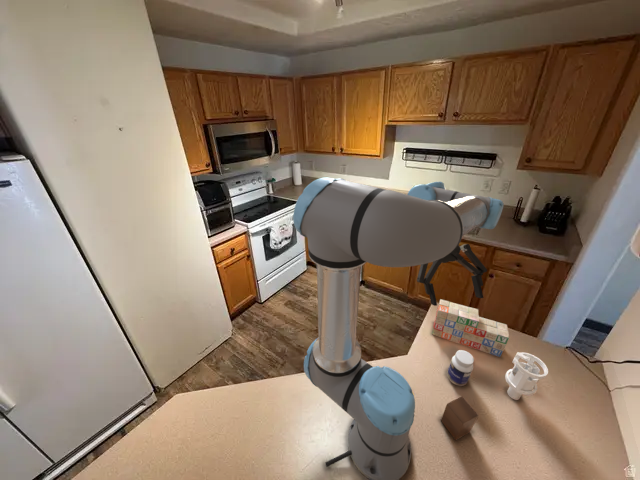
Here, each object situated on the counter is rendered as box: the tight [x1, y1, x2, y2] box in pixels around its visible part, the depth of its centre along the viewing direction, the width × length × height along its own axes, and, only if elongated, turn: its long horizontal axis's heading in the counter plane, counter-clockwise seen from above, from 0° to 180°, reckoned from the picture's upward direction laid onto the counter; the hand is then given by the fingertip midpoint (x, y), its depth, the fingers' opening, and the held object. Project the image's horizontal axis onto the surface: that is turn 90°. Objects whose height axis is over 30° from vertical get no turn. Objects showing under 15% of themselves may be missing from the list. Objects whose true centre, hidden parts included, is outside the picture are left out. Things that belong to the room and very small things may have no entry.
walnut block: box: [440, 396, 479, 441], centre depth 66 cm, size 5×5×8 cm
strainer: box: [504, 351, 549, 401], centre depth 71 cm, size 7×7×15 cm
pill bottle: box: [446, 349, 475, 387], centre depth 77 cm, size 6×6×10 cm
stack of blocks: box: [432, 298, 510, 358], centre depth 89 cm, size 21×6×12 cm, turn 62°
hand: (456, 301), depth 78 cm, fingers open, 13 cm apart
